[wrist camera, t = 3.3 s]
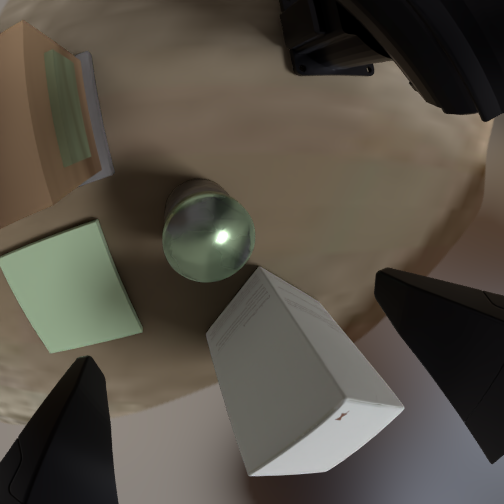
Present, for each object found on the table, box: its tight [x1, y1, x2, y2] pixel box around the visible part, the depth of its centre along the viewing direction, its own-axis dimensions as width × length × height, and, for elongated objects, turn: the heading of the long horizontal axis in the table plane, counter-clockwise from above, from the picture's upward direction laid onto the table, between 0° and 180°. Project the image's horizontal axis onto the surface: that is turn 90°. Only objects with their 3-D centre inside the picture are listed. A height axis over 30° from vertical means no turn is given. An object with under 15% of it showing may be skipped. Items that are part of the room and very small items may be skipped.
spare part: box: [163, 179, 255, 282], centre depth 16 cm, size 5×5×5 cm
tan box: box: [0, 20, 115, 229], centre depth 9 cm, size 7×8×9 cm
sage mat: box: [0, 219, 143, 353], centre depth 18 cm, size 9×9×1 cm
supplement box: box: [206, 267, 404, 476], centre depth 18 cm, size 7×7×13 cm
